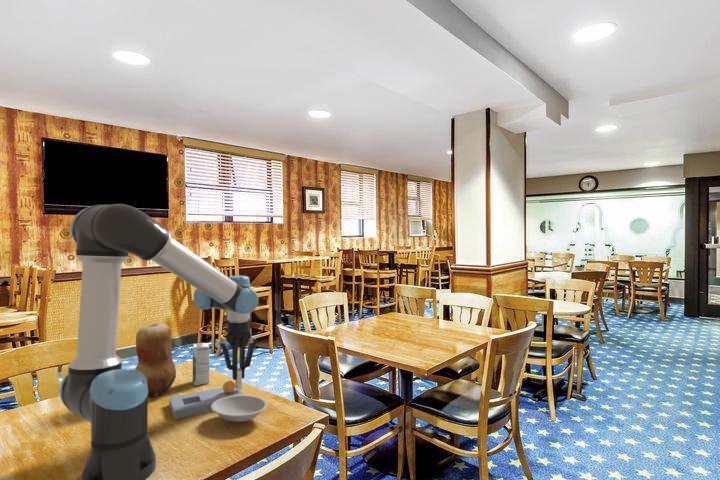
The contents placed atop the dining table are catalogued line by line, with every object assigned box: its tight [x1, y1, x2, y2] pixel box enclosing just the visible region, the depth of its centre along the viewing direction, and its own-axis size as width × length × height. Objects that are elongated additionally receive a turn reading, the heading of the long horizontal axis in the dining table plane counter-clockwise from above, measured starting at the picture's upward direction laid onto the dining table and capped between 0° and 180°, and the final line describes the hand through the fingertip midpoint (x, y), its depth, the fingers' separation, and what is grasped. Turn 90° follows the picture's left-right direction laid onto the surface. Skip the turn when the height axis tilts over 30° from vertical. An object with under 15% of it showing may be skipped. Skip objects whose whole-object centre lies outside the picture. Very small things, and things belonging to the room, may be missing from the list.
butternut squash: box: [134, 322, 177, 396], centre depth 145 cm, size 14×13×25 cm
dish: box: [211, 394, 268, 423], centre depth 125 cm, size 18×14×5 cm
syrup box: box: [192, 342, 210, 387], centre depth 157 cm, size 6×6×14 cm
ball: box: [222, 380, 235, 393], centre depth 141 cm, size 4×4×4 cm
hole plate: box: [168, 386, 245, 420], centre depth 137 cm, size 12×22×2 cm, turn 122°
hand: (238, 388), depth 142 cm, fingers closed
